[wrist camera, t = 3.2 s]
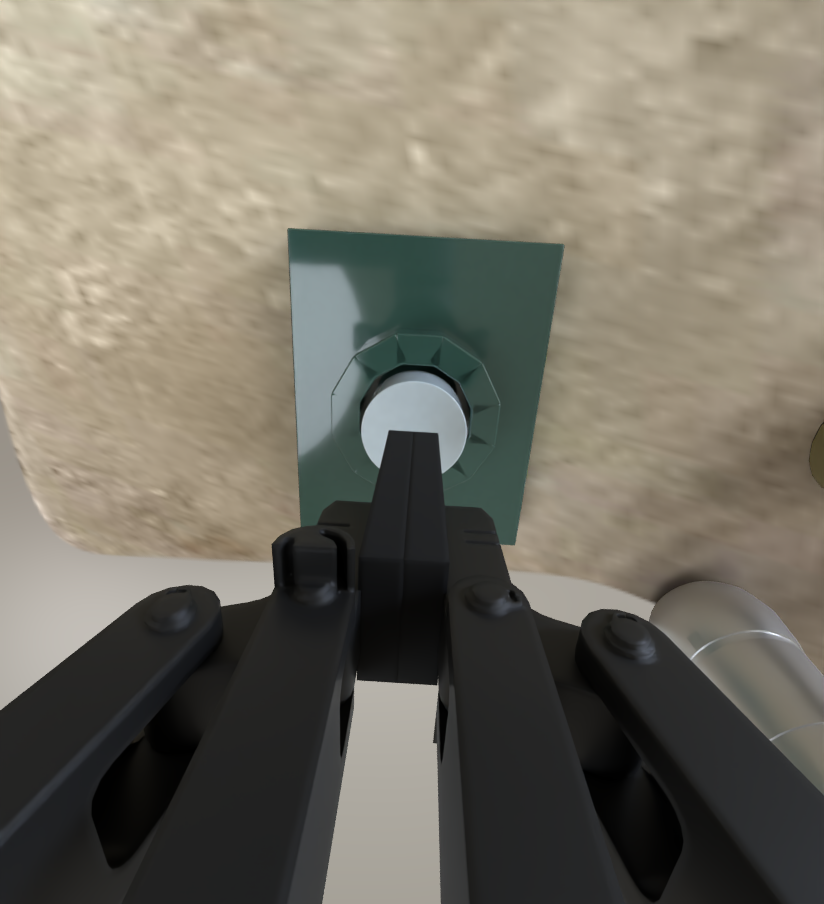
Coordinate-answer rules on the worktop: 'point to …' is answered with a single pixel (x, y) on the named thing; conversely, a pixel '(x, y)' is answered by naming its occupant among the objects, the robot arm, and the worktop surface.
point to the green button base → (419, 355)
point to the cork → (818, 457)
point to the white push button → (415, 414)
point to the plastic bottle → (751, 665)
